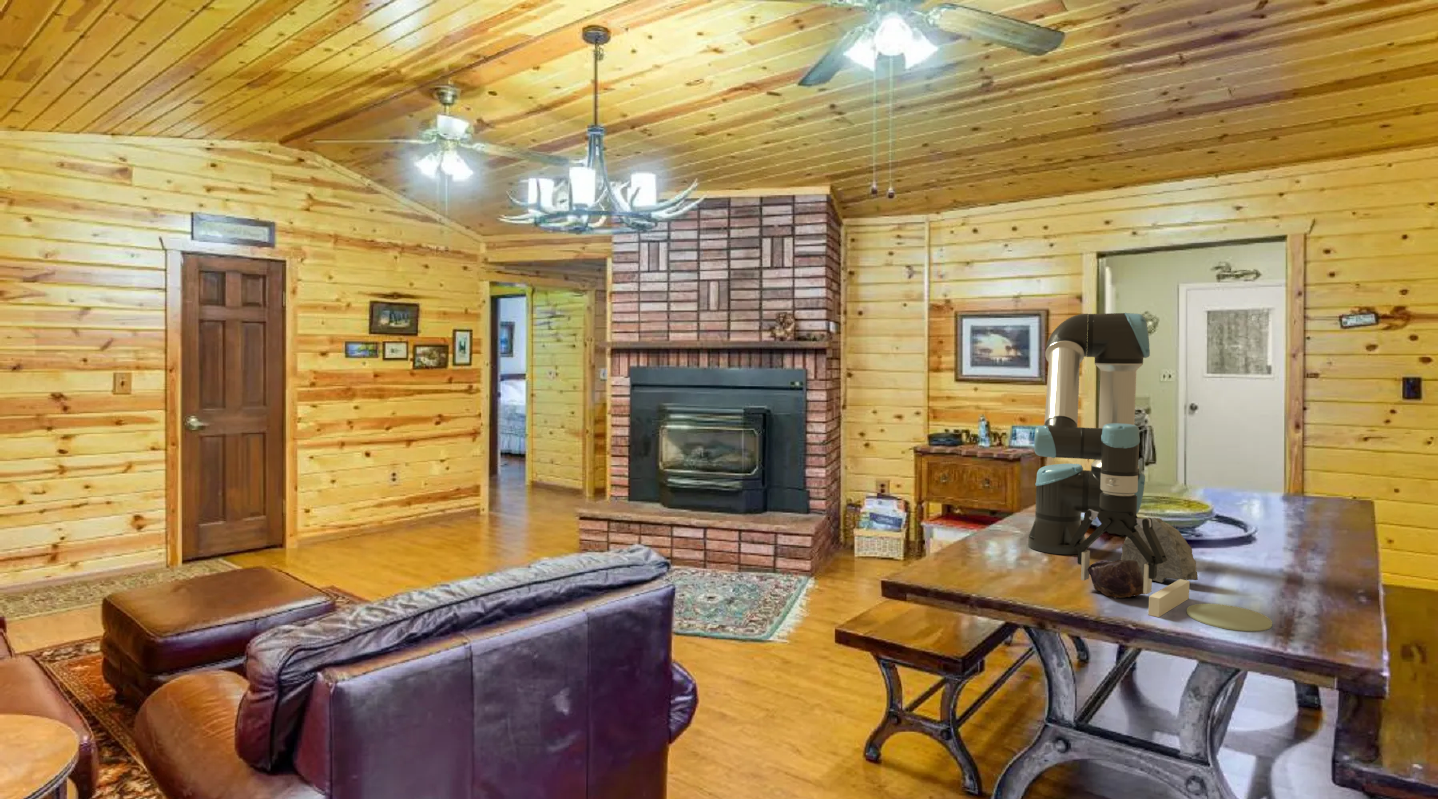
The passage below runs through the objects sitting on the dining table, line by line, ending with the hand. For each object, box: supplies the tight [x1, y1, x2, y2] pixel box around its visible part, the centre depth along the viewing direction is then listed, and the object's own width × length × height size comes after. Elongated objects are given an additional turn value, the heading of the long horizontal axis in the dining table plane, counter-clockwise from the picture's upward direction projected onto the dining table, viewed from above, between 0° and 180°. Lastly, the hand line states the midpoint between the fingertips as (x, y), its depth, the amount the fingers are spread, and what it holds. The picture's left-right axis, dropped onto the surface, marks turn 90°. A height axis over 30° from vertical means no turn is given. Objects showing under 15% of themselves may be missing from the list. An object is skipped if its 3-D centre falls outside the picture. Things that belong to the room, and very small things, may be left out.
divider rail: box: [1147, 579, 1191, 618], centre depth 174 cm, size 2×18×4 cm, turn 132°
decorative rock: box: [1120, 517, 1199, 583], centre depth 193 cm, size 16×7×15 cm, turn 43°
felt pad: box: [1186, 603, 1273, 632], centre depth 167 cm, size 15×15×1 cm
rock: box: [1088, 559, 1145, 599], centre depth 182 cm, size 12×9×10 cm
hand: (1115, 585), depth 181 cm, fingers open, 13 cm apart
